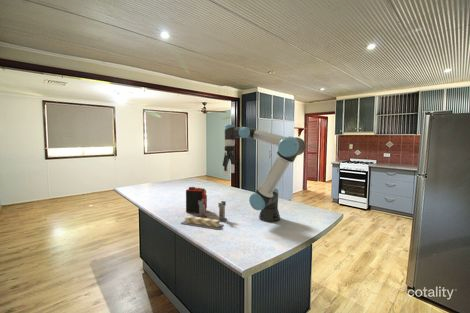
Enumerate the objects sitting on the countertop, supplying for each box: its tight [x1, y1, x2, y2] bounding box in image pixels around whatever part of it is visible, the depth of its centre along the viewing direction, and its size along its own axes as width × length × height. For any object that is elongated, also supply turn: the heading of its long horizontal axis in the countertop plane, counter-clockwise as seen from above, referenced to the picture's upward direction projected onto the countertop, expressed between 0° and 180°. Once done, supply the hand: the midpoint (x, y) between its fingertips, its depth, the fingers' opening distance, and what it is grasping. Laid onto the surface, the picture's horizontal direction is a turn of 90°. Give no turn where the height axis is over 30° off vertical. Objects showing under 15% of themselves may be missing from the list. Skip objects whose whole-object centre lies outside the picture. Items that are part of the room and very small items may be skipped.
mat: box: [180, 220, 224, 231], centre depth 153 cm, size 28×8×1 cm, turn 70°
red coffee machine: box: [185, 186, 208, 214], centre depth 181 cm, size 16×10×20 cm, turn 74°
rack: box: [197, 199, 228, 223], centre depth 165 cm, size 21×6×13 cm, turn 70°
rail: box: [184, 215, 220, 227], centre depth 153 cm, size 24×4×4 cm, turn 70°
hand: (229, 174), depth 170 cm, fingers open, 13 cm apart
